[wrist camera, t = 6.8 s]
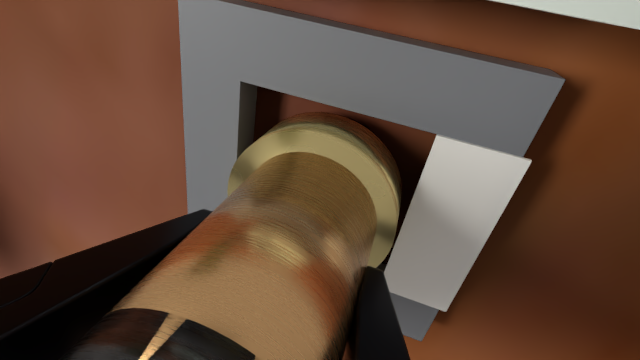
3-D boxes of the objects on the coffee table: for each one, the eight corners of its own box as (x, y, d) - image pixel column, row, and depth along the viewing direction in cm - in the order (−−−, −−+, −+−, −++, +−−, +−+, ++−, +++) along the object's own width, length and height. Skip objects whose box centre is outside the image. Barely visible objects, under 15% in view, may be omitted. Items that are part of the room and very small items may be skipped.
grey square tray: (558, 71, 9) (577, 82, 7) (427, 317, 14) (426, 345, 13) (203, -9, 10) (175, -9, 9) (206, 237, 15) (188, 256, 14)
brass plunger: (424, 138, 10) (422, 165, 8) (378, 266, 12) (369, 304, 11) (259, 93, 11) (229, 110, 9) (249, 222, 13) (225, 251, 12)
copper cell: (394, 177, 9) (298, 579, 3) (358, 284, 11) (260, 642, 5) (251, 134, 9) (-79, 380, 3) (243, 243, 11) (33, 512, 5)
